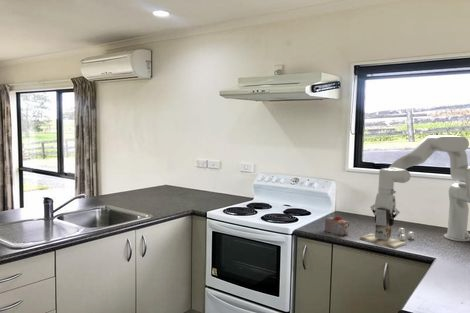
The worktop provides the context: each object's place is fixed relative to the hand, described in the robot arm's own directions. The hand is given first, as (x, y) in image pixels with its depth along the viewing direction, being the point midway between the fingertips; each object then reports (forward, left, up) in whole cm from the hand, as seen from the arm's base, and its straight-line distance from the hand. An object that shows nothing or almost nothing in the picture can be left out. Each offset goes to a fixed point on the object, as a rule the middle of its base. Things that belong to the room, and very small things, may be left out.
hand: (383, 223), depth 210 cm
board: (0, 0, -10) cm, 10 cm away
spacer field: (0, -15, -10) cm, 18 cm away
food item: (+24, +8, -10) cm, 28 cm away
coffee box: (0, 0, -8) cm, 8 cm away
